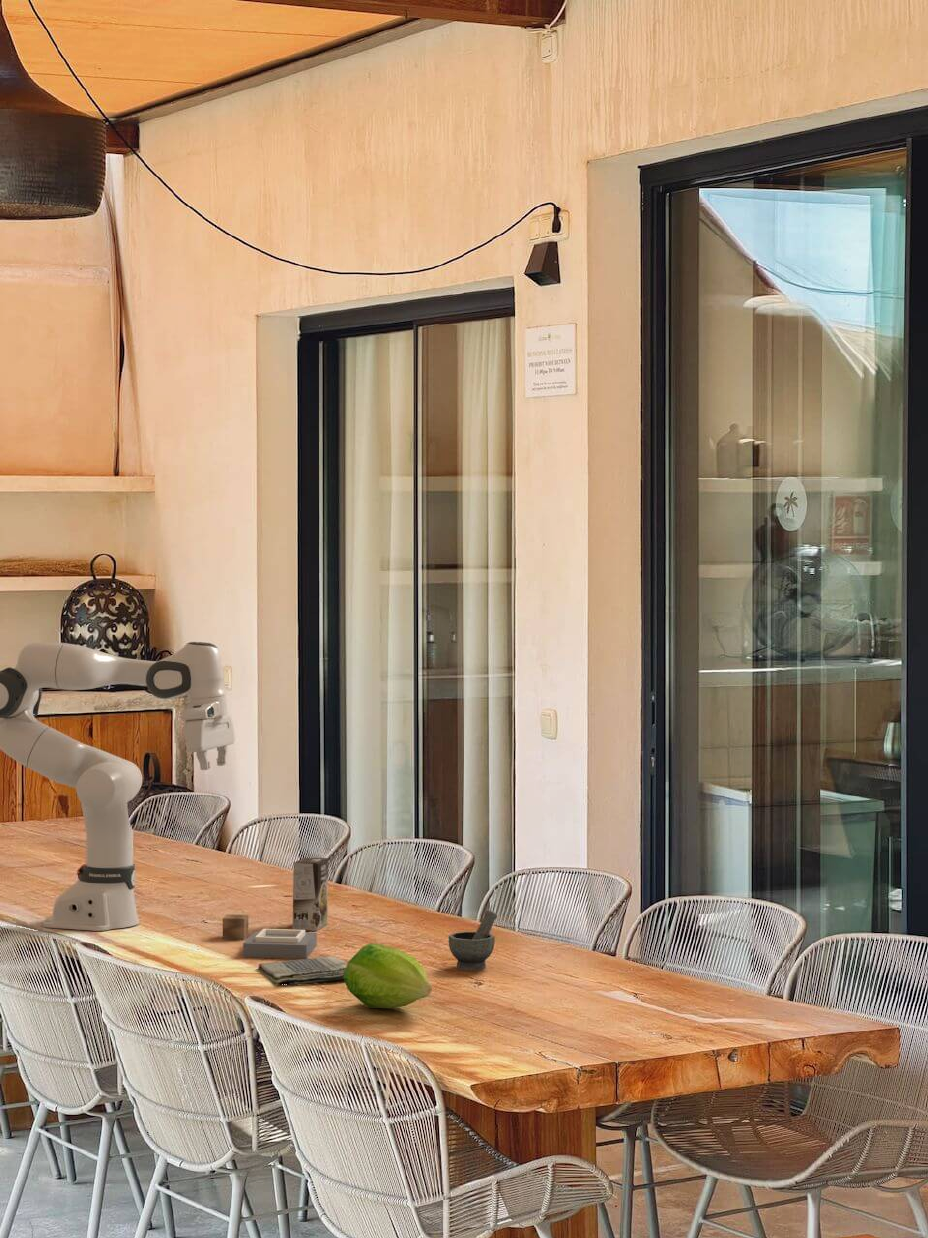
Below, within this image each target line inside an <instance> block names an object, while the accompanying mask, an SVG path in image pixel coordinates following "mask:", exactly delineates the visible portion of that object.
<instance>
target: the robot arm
mask: <svg viewBox="0 0 928 1238" xmlns="http://www.w3.org/2000/svg"><path fill="white" fill-rule="evenodd" d="M223 667H224V666H223V662H222V656H221V652H220V649H219V648H218V646H216V645H215V644H214V643H211V642H210V643H209V642H203V641H198V642H197V641H190V642H186V644H185V645H184V646H183V647H182V648H180V649H179V650H177V651H176V652H175V653H173V654H172V655H169V656H167V657H165V658H162V659H159V660H158V661H157V660H148V659H147V660H146V659H136V658H128V657H121V656H118V655H117V656H116V655H113V654H111V653H106V652H103V651H100V650H98V649H94V648H91V647H87V646H83V645H79V644H72V643H66V642H54V641H53V642H45V641H44V642H33V643H32V642H31V643H29V644H26V645H25V646H23V648H22V649H21V651H20V652H19V654H18V658H17V663H16V666H15V667H14V668H13V667H10V666H9V667H5V668H4V669H2V670H0V751H2V752H3V753H4V754H6V755H7V756H8V757H9V758H11V759H12V760H14V761H15V762H17V763H18V764H20V765H22V766H24V767H25V768H27V769H29V770H31V771H33V772H34V773H37V774H39V775H40V776H43V777H45V778H47V779H49V780H50V781H53V782H55V783H56V784H60V785H64V786H68V787H70V788H73V789H76V790H75V791H76V795H77V798H78V800H79V801H80V804H81V810H82V815H83V821H84V827H85V835H86V836H85V838H86V839H85V842H86V843H85V848H86V851H85V856H86V857H85V859H86V860H85V862H86V863H83V864H82V865H80V867H79V868H78V869H77V870H76V876H77V878H78V880H77V881H76V882H75V883H73V884H72V885H71V886H69V887H68V888H67V889H66V890H64V891H63V892H62V893H61V894H60V895H59V896H57V898H56V899H55V901H54V905H53V910H52V915H50V916H47V917H45V918H44V919H43V922H42V926H43V928H51V929H52V928H54V929H66V930H68V929H69V930H82V931H94V932H95V931H96V932H101V931H108V930H113V929H115V930H116V929H124V928H129V927H134V926H136V925H139V924H140V921H141V920H140V918H139V915H138V911H137V906H136V897H135V887H136V864H135V863H134V830H133V828H132V825H131V822H130V817H129V811H128V802H130V801H132V800H134V798H135V797H136V796H137V795H138V793H139V792H140V791H141V788H142V785H143V775H142V774H143V773H142V772H141V769H140V768H139V767H138V766H137V764H135V763H134V762H132V761H130V760H127V759H125V758H123V757H120V756H117V755H115V754H112V753H110V752H107V751H105V750H103V749H100V748H97V747H94V746H91V745H88V744H86V743H83V742H81V741H78V740H76V739H74V738H72V737H70V736H69V735H67V734H65V733H63V732H61V731H59V730H57V729H55V728H53V727H52V726H49V725H47V724H45V723H43V722H42V721H40V720H38V719H37V718H36V717H37V716H38V714H39V708H40V703H41V700H42V695H43V690H42V689H43V688H49V689H56V690H57V689H58V690H67V691H81V690H82V691H83V690H92V689H96V688H102V687H107V686H111V685H131V686H141V687H146V688H147V690H148V691H149V693H151V694H152V695H153V696H154V697H156V698H158V699H162V700H173V699H178V698H179V699H180V698H181V699H185V698H187V701H188V703H187V706H186V707H185V708H184V709H183V710H182V711H181V714H180V716H181V720H182V721H183V723H184V724H183V731H184V732H183V733H184V741H185V747H186V749H187V751H188V752H189V753H196V758H197V760H198V762H199V768H200V770H201V771H207V770H210V768H211V766H210V765H211V764H210V763H211V762H210V761H209V760H208V758H207V757H208V751H209V750H214V749H216V751H217V758H216V765H217V766H218V767H222V766H226V765H227V759H226V758H227V755H228V746H229V745H234V743H235V731H234V724H233V721H232V716H231V715H230V714H229V713H228V707H227V698H226V692H225V690H224V678H225V676H224V668H223Z"/></svg>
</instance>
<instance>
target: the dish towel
mask: <svg viewBox="0 0 928 1238" xmlns="http://www.w3.org/2000/svg"><path fill="white" fill-rule="evenodd" d="M347 963H348V962H347V961H344V960H342V959H340V958H338V957H335V956H320V957H314V958H313V957H312V958H307V959H292V960H289V959H288V960H283V961H274V962H271V961H270V962H266V963H265V962H264V963H263V962H262V963H259V964H258V968H257V969H258V970H259V972H261V973H262V974H263V976H265V977H266V978H267V979H268V980H269V981H271V982H272V984H274V985H275V984H276V985H275V986H277V987H279V986H280V985H282V984H283V985H284V984H287V985H290V986H299V985H298V984H310V985H314V984H313V983H318V984H320V985H323V984H324V983H326V984H337V982H340V983H342V982H341V981H343V982H345V980H344V974H345V970H346V967H347Z"/></svg>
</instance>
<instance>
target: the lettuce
mask: <svg viewBox="0 0 928 1238" xmlns="http://www.w3.org/2000/svg"><path fill="white" fill-rule="evenodd" d="M344 980H345V981H344V982H345V986H346V989H347V990H348V991H349V992H350V993H351V994H352V995H353V996H354V997H355V998H356V999H357V1000H359V1001H360V1002H361V1003H362V1004H363V1005H364V1006H366V1007H367V1008H368V1009H395V1008H401V1007H406V1006H409V1005H411V1004H413V1003H415V1002H416V1001H418V1000H420V999H421V1000H422V999H424V998H427V997H429V996H430V995H431V993H432V990H433V986H432V983H431V982H430V980H429V978H428V975H427V972H426V971H425V969H424V967H422V965H421V964H420V962H419V961H418V960H417V958H416V957H414V956H413V955H410V954H408V953H406V952H404V951H401V950H400V949H398V948H396V947H391V946H390V947H389V946H385V945H383V944H380V943H374V942H372V943H371V942H370V943H368V944H365V945H363V946H362V947H361V948H360V949H359V950H358V951H357V952H356V953H355V954H354V955H353V956H352V958H351V959H349V961H348V962H347V967H346V970H345V974H344Z"/></svg>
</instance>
